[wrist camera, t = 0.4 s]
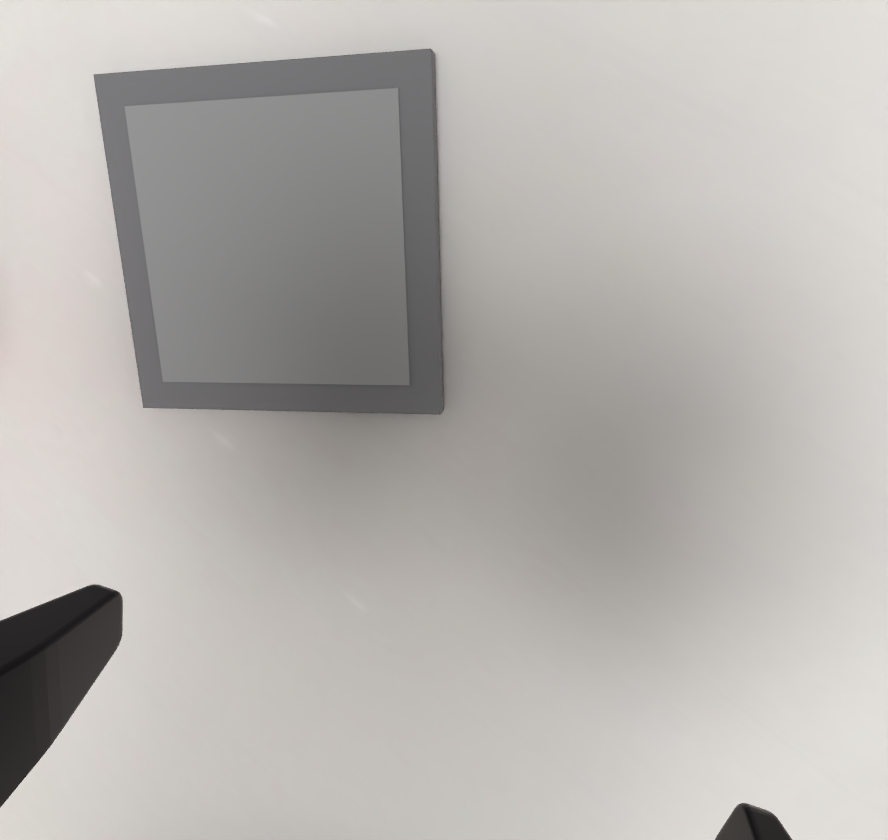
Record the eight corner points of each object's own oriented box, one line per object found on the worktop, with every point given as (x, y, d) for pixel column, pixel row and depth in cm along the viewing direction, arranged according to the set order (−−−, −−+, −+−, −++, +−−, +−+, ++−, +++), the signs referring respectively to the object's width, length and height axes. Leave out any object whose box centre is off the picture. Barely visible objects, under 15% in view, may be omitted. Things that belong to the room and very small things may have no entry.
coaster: (443, 409, 23) (439, 415, 22) (153, 403, 24) (141, 408, 24) (434, 54, 20) (430, 47, 19) (105, 79, 22) (91, 73, 21)
